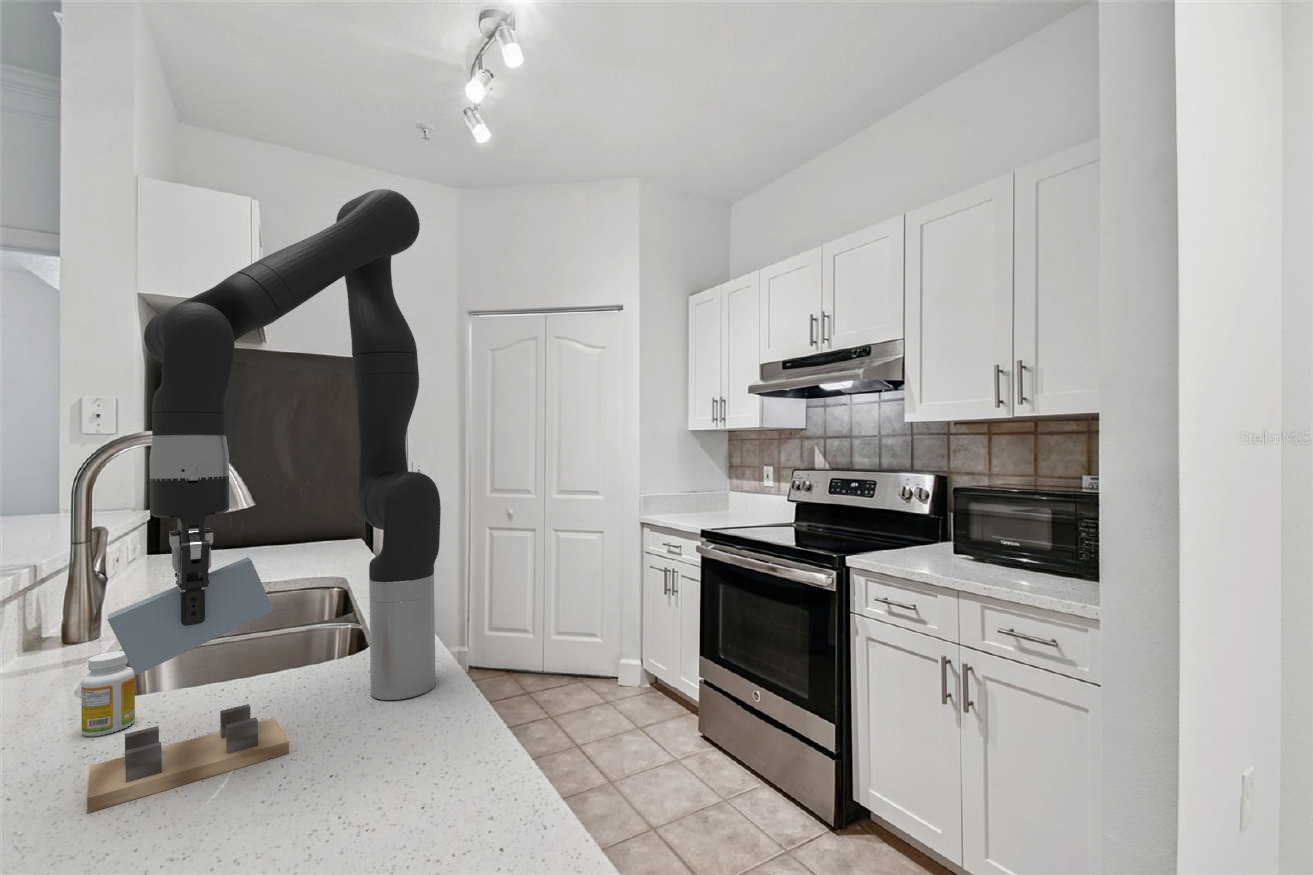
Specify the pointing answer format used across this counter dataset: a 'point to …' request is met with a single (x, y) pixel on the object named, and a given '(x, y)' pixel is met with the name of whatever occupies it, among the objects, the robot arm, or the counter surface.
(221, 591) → the blue grey rectangular block
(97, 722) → the supplement bottle
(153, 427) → the robot arm
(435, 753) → the counter surface
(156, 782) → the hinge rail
